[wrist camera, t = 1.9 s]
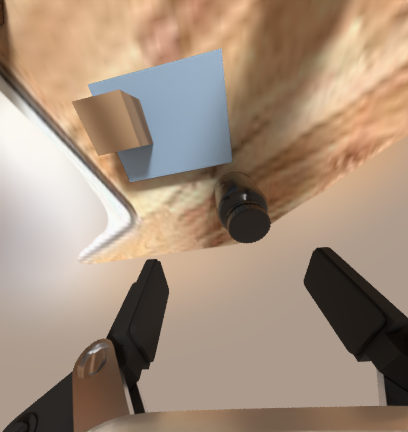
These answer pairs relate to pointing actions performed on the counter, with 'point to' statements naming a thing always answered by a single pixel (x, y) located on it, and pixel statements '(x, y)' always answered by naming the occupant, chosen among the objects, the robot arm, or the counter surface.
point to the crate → (113, 121)
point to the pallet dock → (177, 116)
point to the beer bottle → (1, 14)
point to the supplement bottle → (241, 208)
